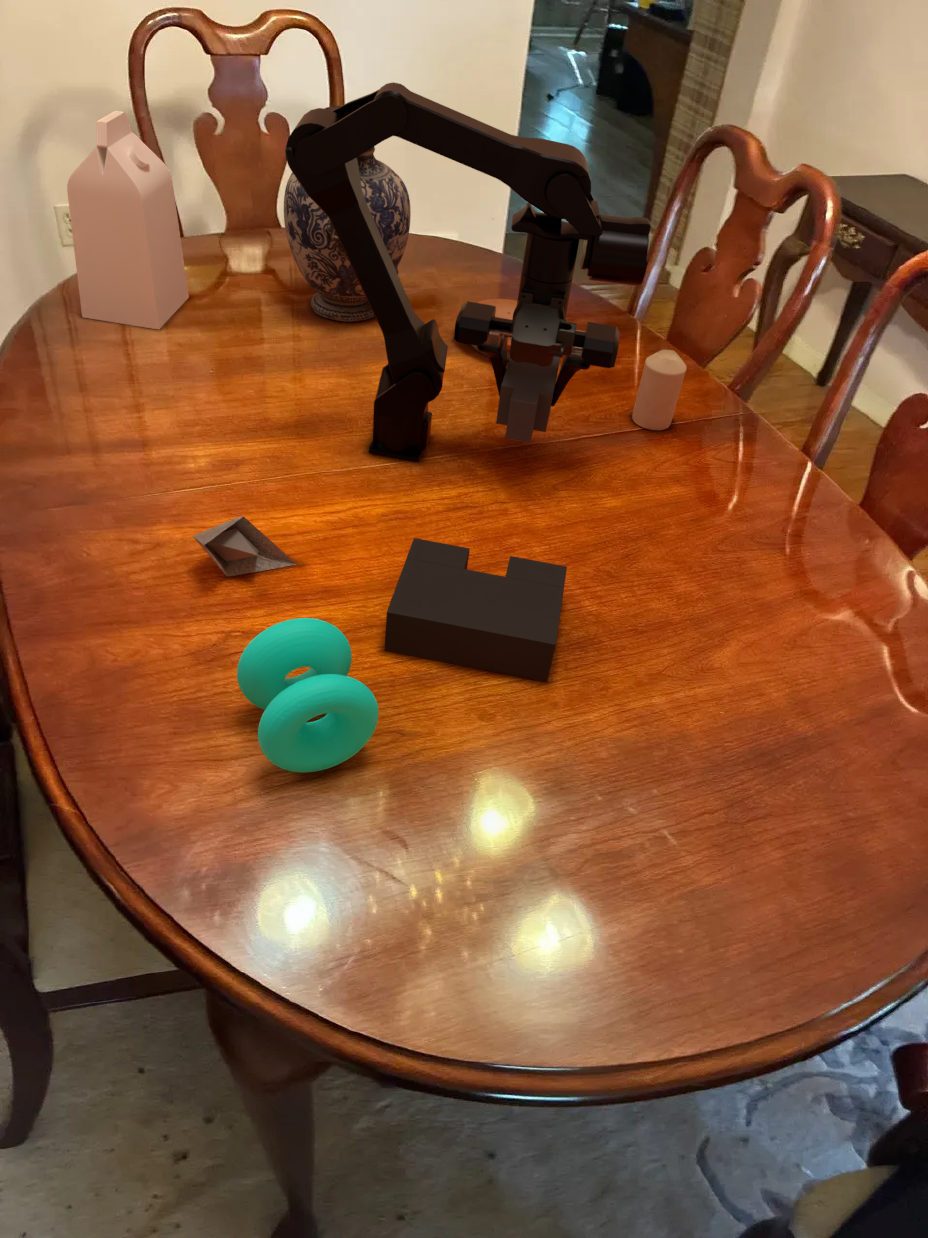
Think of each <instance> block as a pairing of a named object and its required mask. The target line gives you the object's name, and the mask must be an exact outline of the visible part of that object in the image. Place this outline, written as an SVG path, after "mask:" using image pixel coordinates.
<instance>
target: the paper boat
mask: <svg viewBox="0 0 928 1238" xmlns="http://www.w3.org/2000/svg"><path fill="white" fill-rule="evenodd" d="M192 537H193V538H194V540H195V541H196V542H197V543H198V544H199V546H200V547H201V548H202V549H203V550H204V551H205V553H206V554H207V555H208V556H209V557H210V559H211V560H212V562H214V563H215V564H216V565H217V567H218V568H219V570H221V571H222V573H223V574H224V575H225V576H226V577H227V578H229V577H234V576H241V575H247V574H252V573H258V572H264V571H268V570H269V571H270V570H274V569H282V568H286V567H292V566H297V565H298V564H297V562H295V561H294V560H293V559H292V558H291V557H290V556H289V555H287V554H286V553H285V552H284V551H283V550H282V549H281V548H280V547H279V546H278V545H276V544H275V543H274V542H273V541H272V540H271V539H270V538H268V536H266V535H265V534H264V533H263V532H262V531H261V530H259V528H257V527H256V526H255V525H254V524H253V523H251V521H250V520H249V519H247V518H246V517H245V516H237V517H235V518H232V519H230V520H227V521H225V522H223V523H221V524H218V525H215V526H213V527H210V528H208V529H206V530H204V531H201V532H199V533H197V534H194V535H192Z"/></svg>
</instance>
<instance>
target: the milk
mask: <svg viewBox="0 0 928 1238" xmlns="http://www.w3.org/2000/svg"><path fill="white" fill-rule="evenodd" d="M66 188H67V189H66V192H67V201H68V209H69V218H70V225H71V234H72V243H73V251H74V258H75V260H74V261H75V268H76V276H77V277H76V278H77V286H78V293H79V294H78V295H79V301H80V302H79V303H80V310H81V311H80V312H81V317H82V318H84V319H91V320H97V321H102V322H103V321H104V322H109V323H115V324H121V325H128V326H134V327H140V328H146V329H153V330H160V329H161V328H162V327H164V325H165V324H167V322H168V321H169V320H170V318H172V316H174V314H175V313H176V312H177V311H178V310H179V309H180V308H181V306H183V305H184V304H185V302H187V300H188V299H189V298H190V296H189V289H188V282H187V275H186V266H185V259H184V254H183V246H182V239H181V232H180V225H179V217H178V212H177V204H176V198H175V197H176V195H175V190H174V183H173V178H172V174H171V171H170V170H169V168H168V167H167V165H166V163H165V162H163V160H162V159H161V158H159V156H157V154H156V153H155V152H154V151H153V150H152V149H150V147H148V146H147V144H145V143H144V142H143V141H142V140H141V139H140V137H138V135H136V134H135V133H134V132H133V130H132V126H131V125H130V122H129V118H128V115H127V113H126V111H121V110H114V111H112V112H110V113H109V114H106V115H105V116H103V117H102V118H99V119H97V120H96V147H95V148H94V149H93V150H92V151H91V152H90V153H89V154H88V155H87V156H86V157H85V159H84V160H83V161H82V162H81V163H80V164H79V165H78V167H76V169H74V171H73V172H72V174H71V175H70V177H69V178H68V180H67V184H66Z"/></svg>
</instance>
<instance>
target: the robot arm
mask: <svg viewBox="0 0 928 1238" xmlns="http://www.w3.org/2000/svg"><path fill="white" fill-rule="evenodd" d="M339 106H340V107H338V108H336V109H334V110H332V111H331V110H329V109H324V108H323V107H322V108H321V107H317V108H313V109H310V110H309V111H307V112H306V113H304V114H303V116H302V117H301V118H300V119H299V121H298V123H297V124H296V125H295V127H294V129H293V130H292V132H291V133H290V134H289V135H288V138H287V142H286V146H285V150H284V152H285V159H286V162H287V166H288V167H289V169H290V171H291V173H292V172H293V174H294V175H295V177H296V178H297V180H298V181H299V183H300V184H301V186H302V187H303V189H304V190H305V192H306V193H307V195H308V196H309V197H310V198H311V199H312V200H313V201H314V202H315V203H316V204H317V205H318V206H319V207H320V208H321V209H322V210H323V211H324V212H325V214H326V215H327V216H328V218H329V219H330V221H331V223H332V225H333V227H334V230H335V232H336V234H337V236H338V238H339V240H340V242H341V245H342V247H343V249H344V251H345V253H346V255H347V257H348V260H349V262H350V264H351V266H352V268H353V270H354V272H355V275H356V277H357V279H358V281H359V283H360V285H361V288H362V290H363V292H364V294H365V296H366V298H367V300H368V303H369V305H370V307H371V309H372V311H373V313H374V315H375V316H374V317H375V321H376V322H377V324H378V326H379V328H380V331H381V332H382V335H383V340H384V347H385V351H386V352H385V353H386V357H387V358H386V359H387V364H385V365H384V366H383V367H382V369H381V373H380V377H379V382H378V386H377V390H376V394H375V399H374V401H373V413H372V414H373V415H372V416H373V417H372V418H373V419H372V421H373V422H372V438H371V439H372V440H371V442H370V443H369V445H368V452H369V453H370V454H375V455H381V456H385V457H386V456H387V457H390V458H397V459H401V460H408V461H413V462H418V461H420V459H421V457H422V454H423V452H424V451H426V450H427V448H428V445H429V443H430V440H431V429H432V419H433V413H432V412H431V411H429V403H430V402H433V401H435V399H436V398H438V396H439V395H440V393H441V391H442V389H443V384H444V377H445V371H446V363H447V357H448V349H449V346H448V345H447V344H446V342H445V341H443V338H442V337H441V335H440V332H439V331H440V330H439V327H438V322H437V320H436V319H435V318H434V319H431V320H429V321H428V322H426V323H425V322H424V321H423V320H422V319H421V318H420V317H419V316H418V315H417V314H416V312H415V310H414V308H413V306H412V304H411V302H410V299H409V297H408V295H407V292H406V290H405V288H404V286H403V283H402V281H401V278H400V276H399V273H398V274H397V272H396V270H395V267H394V265H393V263H392V260H391V258H390V256H389V253H388V251H387V249H386V247H385V244H384V242H383V240H382V237H381V235H380V233H379V231H378V228H377V226H376V224H375V221H374V219H373V217H372V214H371V212H370V210H369V208H368V205H367V203H366V201H365V198H364V196H363V192H362V186H361V180H360V173H359V167H358V161H357V157H358V156H360V155H361V154H363V153H365V152H366V151H368V150H369V149H371V148H372V147H376V146H377V145H379V144H380V143H382V142H383V141H386V140H388V139H390V138H392V137H397V138H399V139H401V140H404V141H406V142H409V143H411V144H414V145H416V146H418V147H421V148H423V149H425V150H428V151H430V152H432V153H435V154H437V155H439V156H441V157H442V156H443V157H445V158H447V159H449V160H452V161H454V162H456V163H459V164H461V165H464V166H466V167H468V168H471V169H473V170H475V171H477V172H480V173H482V174H484V175H487V176H489V177H491V178H495V179H497V180H498V181H500V182H501V183H503V184H505V185H506V186H507V187H508V188H510V189H511V190H512V191H513V192H515V194H517V195H518V196H519V197H520V198H521V199H523V201H524V202H526V204H525V205H524V206H523V208H521V209H520V210H518V211H517V212H515V213H514V214H512V215H511V220H510V221H511V225H510V226H511V231H513V233H520V234H521V233H523V234H526V238H525V245H524V253H523V258H522V266H521V273H520V280H519V286H518V294H517V299H516V300H517V306H516V308H515V310H514V313H513V319H512V320H510V319H504V318H498V317H495V312H496V306H492V305H486V304H480V303H476V302H473V301H466V302H465V303H464V304H463V305H462V306H461V307H460V310H459V311H460V312H459V311H458V312H459V314H458V317H457V316H456V320H455V324H454V331H453V340H454V341H455V342H456V343H459V344H466V345H470V346H471V345H477V350H478V351H480V352H484V353H485V354H486V355H487V356H486V355H485V356H486V357H487V358H488V359H489V361H490V365H491V367H492V370H493V374H494V379H495V382H496V387H497V392H498V396H499V398H500V391H501V385H502V382H503V378H504V375H505V372H506V368H507V365H508V360H507V341H508V337H511V348H510V358H511V359H512V360H513V361H515V362H519V363H521V362H527V363H532V364H537V365H538V366H542V367H547V366H549V365H551V364H552V362H553V357H554V356H555V357H560V359H561V358H563V360H562V363H561V365H560V369H559V371H558V374H557V379H556V384H555V388H554V393H553V398H552V403H551V407H555V406H556V404H557V402H558V400H559V399H560V397H561V396H562V394H563V392H564V390H565V388H566V386H568V383H569V382H570V381H571V380H572V378H573V377H574V375H576V373H578V372H579V371H580V370H584V371H588V370H589V369H590V368H591V366H594V367H598V368H599V367H600V368H604V369H612V368H615V366H616V361H617V356H618V352H619V346H620V335H621V332H620V330H619V329H618V327H617V326H615V325H609V324H604V323H599V322H592V321H587V324H586V329H585V330H582V329H581V330H580V329H577V326H578V324H577V323H576V322H570V321H567V318H566V317H567V312H568V306H569V301H570V295H571V289H572V285H573V278H574V273H575V267H576V262H577V257H578V251H579V246H580V245H579V244H580V240H583V243H582V247H581V248H582V249H581V258H580V270H584V271H585V270H587V272H586V276H587V277H588V279H589V281H594V282H602V283H603V282H604V283H612V284H619V285H628V286H636V287H640V286H641V285H642V284H643V282H644V278H645V275H646V272H647V269H648V268H647V267H648V263H649V260H648V252H649V244H650V243H649V242H650V232H651V228H652V226H651V222H650V219H649V218H647V217H639V216H636V217H635V216H634V217H623V216H616V215H606V214H600V209H599V203H598V200H595V198H594V196H593V194H592V181H591V174H590V170H589V165H588V162H587V159H586V157H585V154H584V153H583V152H582V151H581V150H580V149H579V148H577V147H576V146H574V145H571V144H568V143H564V142H560V141H555V140H550V139H546V138H542V137H540V138H539V137H524V136H519V135H514V134H510V133H508V132H506V131H504V130H501V129H500V128H497V127H495V126H492V125H490V124H488V123H485V122H483V121H480V120H478V119H477V118H475V117H474V118H473V117H472V116H469V115H466V114H464V113H462V112H459V111H457V110H455V109H453V108H450V107H448V106H446V105H443V104H441V103H439V102H436V101H434V100H432V99H430V98H428V97H425V96H423V95H421V94H418V93H416V92H413V91H411V90H410V89H409V88H408V87H406V86H405V85H403V84H402V83H398V82H387V83H385V84H384V85H382V86H381V87H380V88H379V89H377V90H375V91H373V92H371V93H368V94H366V95H363V96H360V97H358V98H356V99H353V100H351V101H348V102H346V103H344V104H342V105H339ZM536 209H537V210H539V211H540V212H539V211H537V210H536ZM564 220H565V221H564ZM477 350H476V351H477ZM478 351H477V352H478ZM480 352H479V353H480Z"/></svg>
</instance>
